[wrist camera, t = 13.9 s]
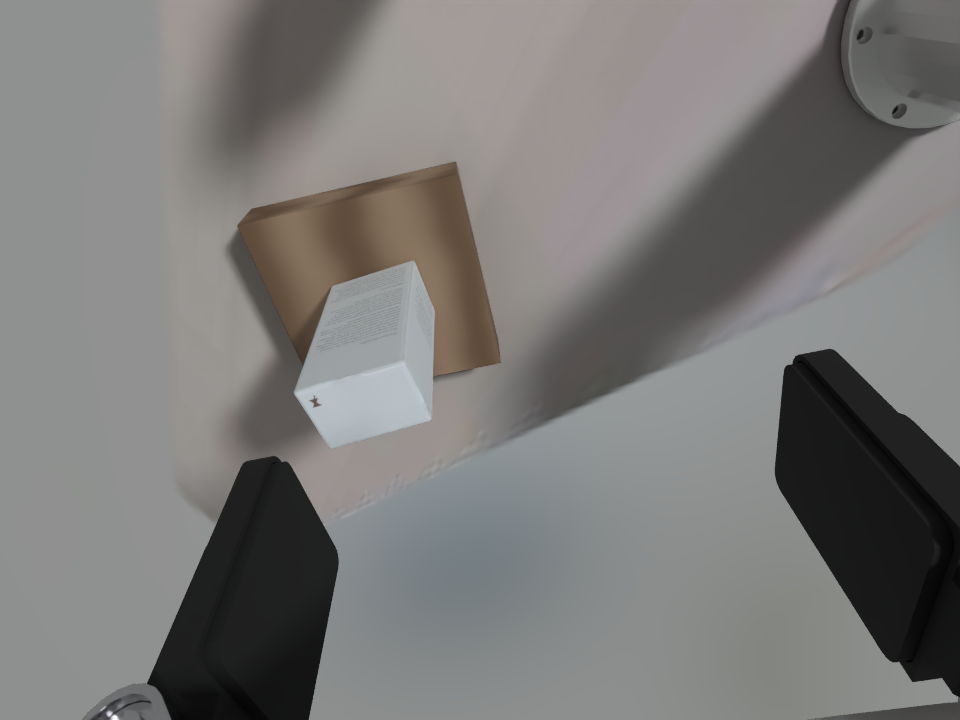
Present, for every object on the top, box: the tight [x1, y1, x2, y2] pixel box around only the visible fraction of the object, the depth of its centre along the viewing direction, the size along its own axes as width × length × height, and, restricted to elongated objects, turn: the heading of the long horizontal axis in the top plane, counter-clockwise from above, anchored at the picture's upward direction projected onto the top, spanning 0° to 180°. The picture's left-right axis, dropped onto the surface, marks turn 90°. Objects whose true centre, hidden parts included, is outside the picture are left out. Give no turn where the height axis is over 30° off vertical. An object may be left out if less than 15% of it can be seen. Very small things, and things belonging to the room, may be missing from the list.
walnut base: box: [237, 162, 501, 376], centre depth 41 cm, size 14×14×3 cm
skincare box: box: [294, 261, 435, 449], centre depth 35 cm, size 6×4×12 cm
